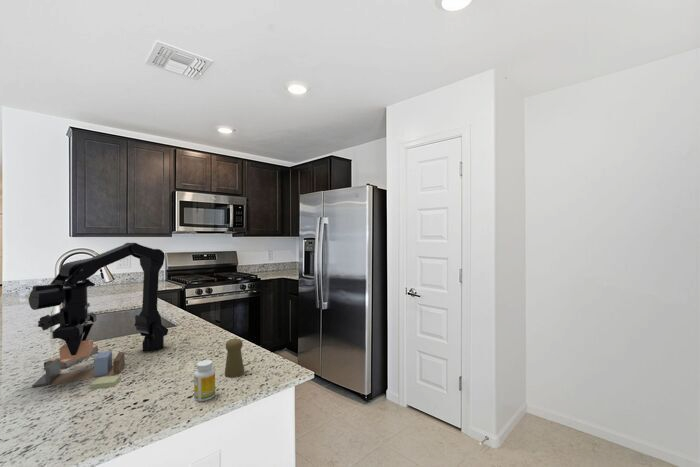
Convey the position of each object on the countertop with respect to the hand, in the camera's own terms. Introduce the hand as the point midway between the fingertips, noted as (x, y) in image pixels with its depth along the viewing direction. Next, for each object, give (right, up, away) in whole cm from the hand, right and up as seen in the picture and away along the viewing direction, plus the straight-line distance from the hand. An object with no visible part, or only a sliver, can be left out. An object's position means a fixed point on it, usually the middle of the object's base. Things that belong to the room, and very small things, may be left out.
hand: (77, 351), depth 102 cm
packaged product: (-12, -9, +12) cm, 20 cm away
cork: (+48, -9, +3) cm, 49 cm away
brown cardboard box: (0, -1, 0) cm, 1 cm away
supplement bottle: (+45, -9, -11) cm, 48 cm away
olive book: (+14, -9, -6) cm, 17 cm away
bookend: (-6, -8, -3) cm, 10 cm away
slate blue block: (+6, -8, +3) cm, 10 cm away
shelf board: (+1, -9, 0) cm, 9 cm away
